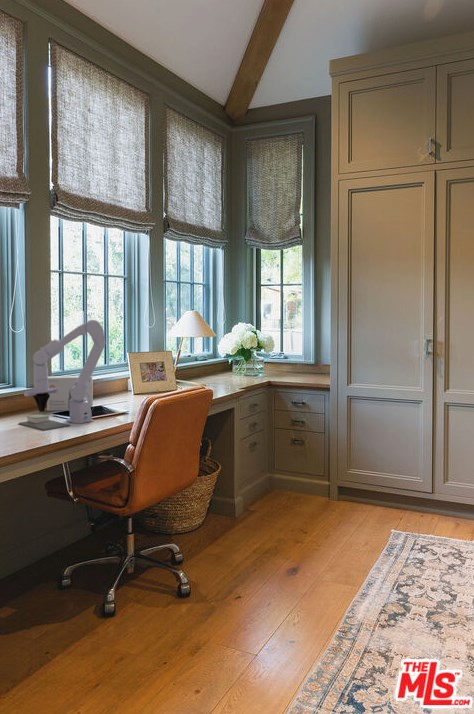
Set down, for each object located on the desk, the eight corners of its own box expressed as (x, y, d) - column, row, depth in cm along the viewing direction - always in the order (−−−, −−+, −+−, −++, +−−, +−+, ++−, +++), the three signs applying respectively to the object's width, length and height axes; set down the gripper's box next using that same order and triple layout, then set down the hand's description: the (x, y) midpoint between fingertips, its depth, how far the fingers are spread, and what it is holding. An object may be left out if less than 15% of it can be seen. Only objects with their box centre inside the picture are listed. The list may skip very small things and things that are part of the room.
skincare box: (46, 411, 283) (45, 377, 281) (47, 409, 288) (47, 376, 286) (92, 409, 287) (92, 376, 285) (93, 407, 292) (92, 375, 291)
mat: (70, 426, 247) (70, 424, 247) (43, 430, 238) (43, 429, 238) (44, 420, 261) (44, 418, 260) (18, 424, 252) (18, 422, 252)
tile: (35, 423, 251) (48, 420, 255) (35, 418, 251) (48, 416, 255) (27, 420, 256) (39, 418, 260) (26, 416, 255) (39, 414, 260)
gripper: (51, 377, 261) (52, 408, 262) (19, 380, 250) (20, 412, 251) (60, 378, 256) (61, 410, 257) (28, 381, 245) (29, 414, 246)
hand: (41, 411), depth 254 cm, fingers closed
